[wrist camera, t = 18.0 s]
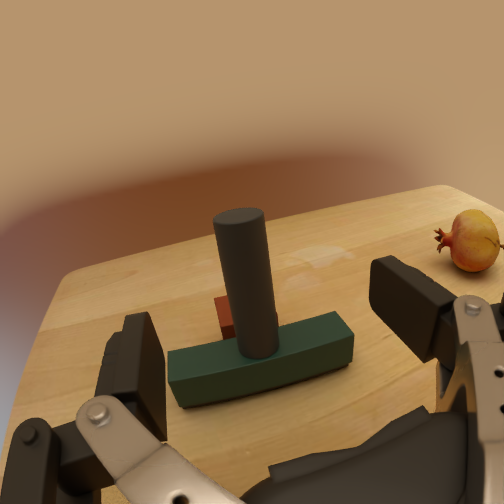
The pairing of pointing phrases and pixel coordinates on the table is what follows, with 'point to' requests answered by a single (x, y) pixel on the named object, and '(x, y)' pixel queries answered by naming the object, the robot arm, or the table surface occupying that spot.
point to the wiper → (255, 328)
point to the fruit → (471, 241)
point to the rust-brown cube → (226, 317)
